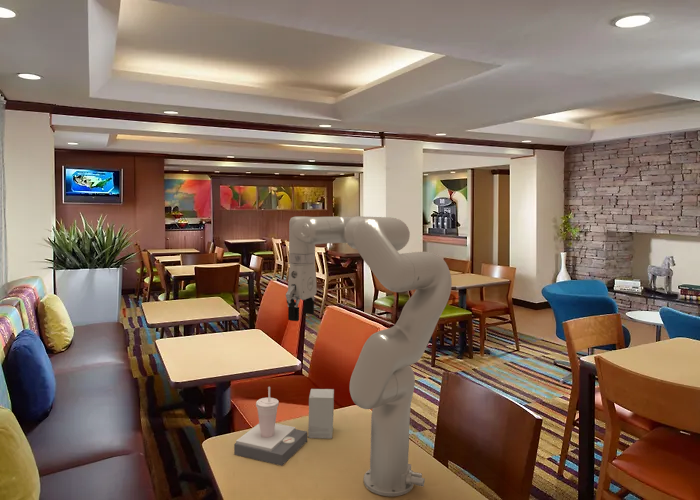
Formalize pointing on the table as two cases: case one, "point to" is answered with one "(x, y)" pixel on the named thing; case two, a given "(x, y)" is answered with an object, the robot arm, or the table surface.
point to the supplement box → (321, 413)
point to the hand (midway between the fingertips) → (301, 317)
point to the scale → (271, 444)
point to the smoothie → (267, 415)
